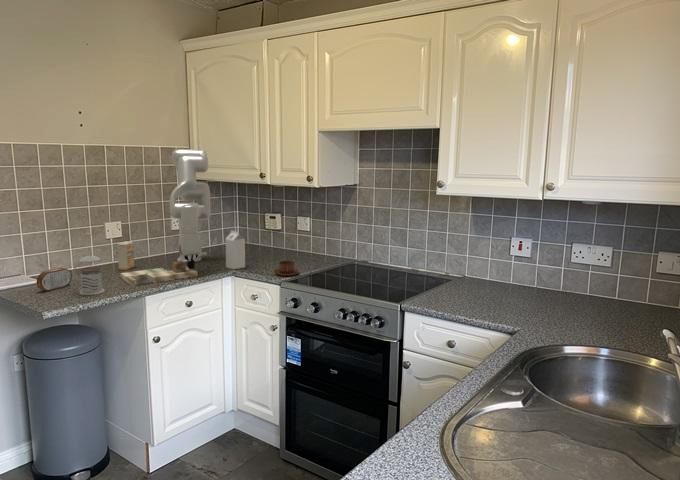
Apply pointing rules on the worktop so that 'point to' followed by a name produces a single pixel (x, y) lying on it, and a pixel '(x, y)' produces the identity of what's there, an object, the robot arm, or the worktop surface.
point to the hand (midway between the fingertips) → (191, 268)
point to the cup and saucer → (286, 268)
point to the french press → (90, 276)
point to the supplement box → (126, 255)
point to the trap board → (155, 276)
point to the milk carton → (235, 251)
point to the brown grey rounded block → (54, 279)
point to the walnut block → (179, 266)
